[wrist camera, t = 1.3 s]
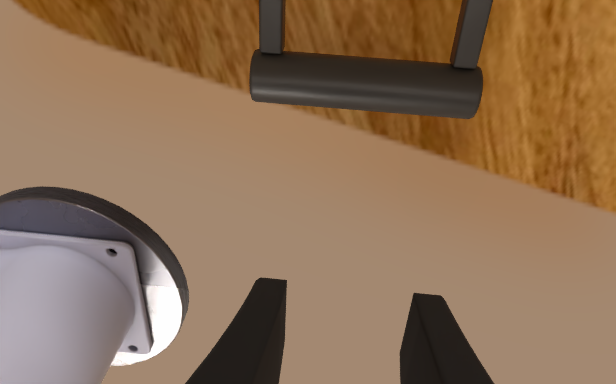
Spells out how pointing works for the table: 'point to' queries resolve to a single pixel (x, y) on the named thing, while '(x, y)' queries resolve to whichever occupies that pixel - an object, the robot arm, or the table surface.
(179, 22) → the table surface
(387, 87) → the drawer
